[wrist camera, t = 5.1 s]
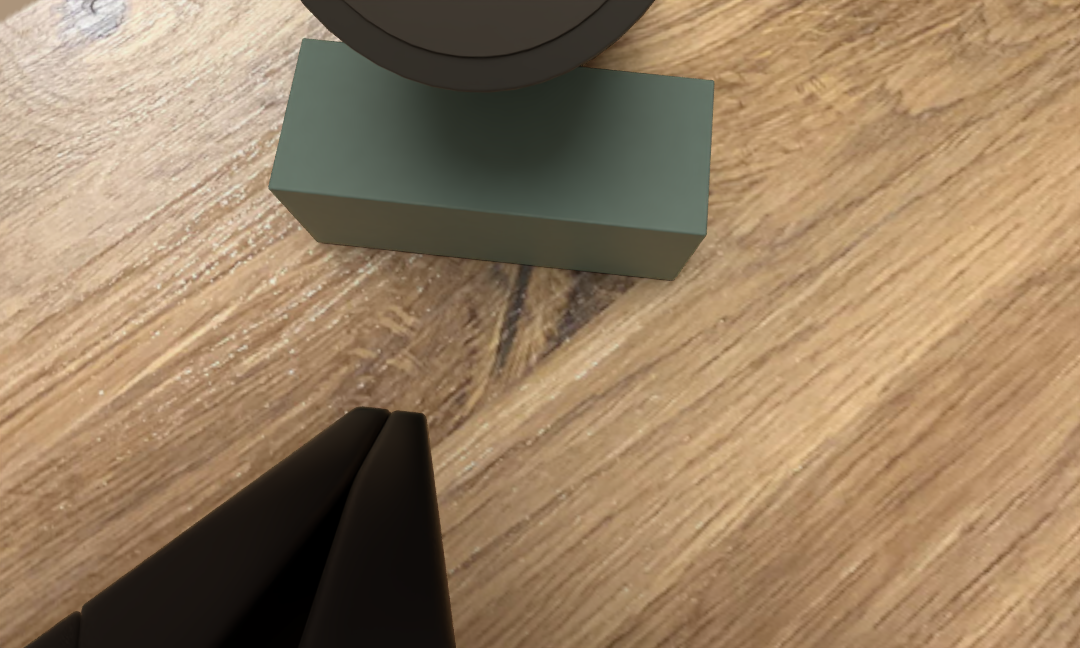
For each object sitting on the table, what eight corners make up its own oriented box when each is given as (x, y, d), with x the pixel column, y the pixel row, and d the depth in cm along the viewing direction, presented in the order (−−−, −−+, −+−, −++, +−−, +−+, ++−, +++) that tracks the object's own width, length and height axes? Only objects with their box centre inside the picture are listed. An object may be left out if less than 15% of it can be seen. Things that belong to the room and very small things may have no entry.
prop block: (674, 281, 18) (707, 235, 14) (316, 242, 18) (266, 188, 14) (682, 150, 18) (714, 79, 15) (342, 115, 19) (302, 36, 15)
